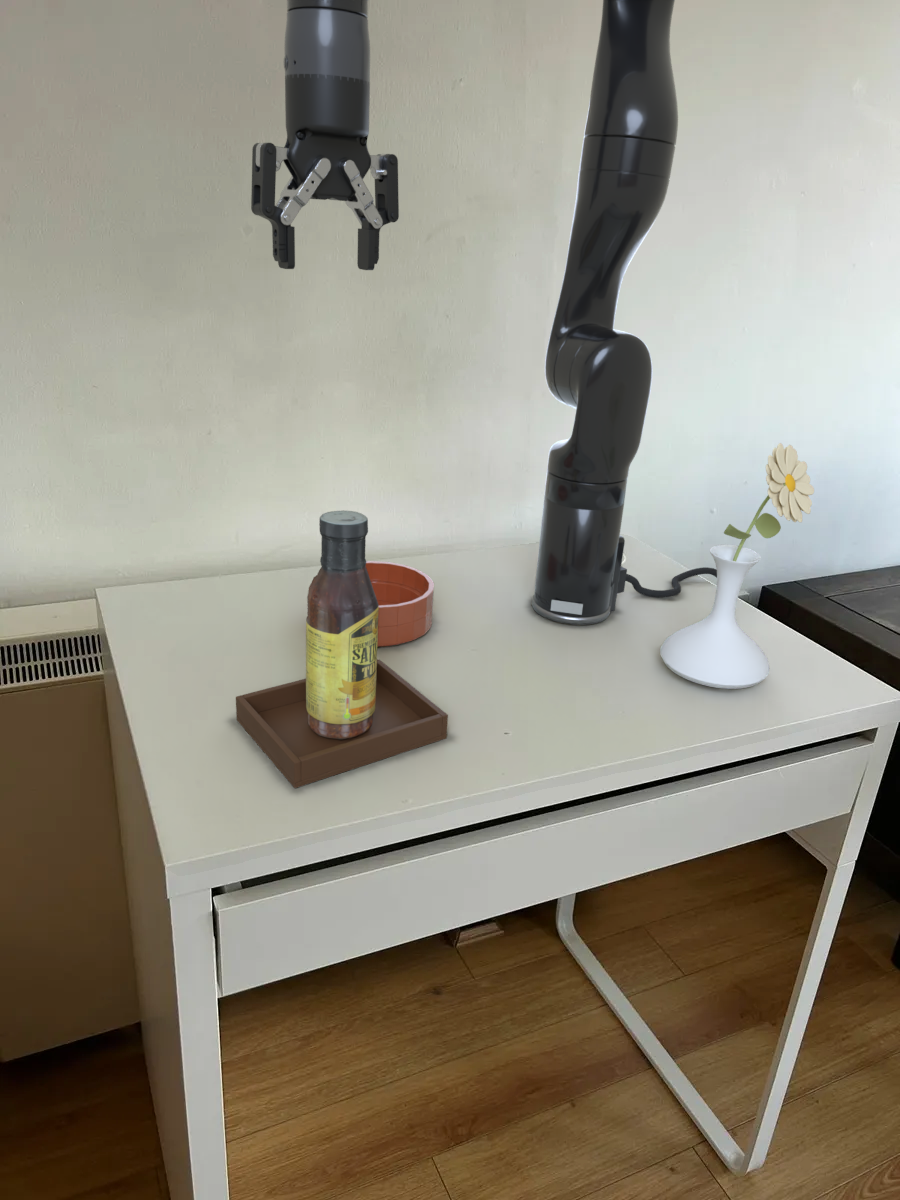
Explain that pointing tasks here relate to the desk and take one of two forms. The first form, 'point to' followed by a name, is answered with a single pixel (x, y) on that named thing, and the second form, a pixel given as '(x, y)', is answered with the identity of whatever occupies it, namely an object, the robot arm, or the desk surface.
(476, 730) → the desk surface
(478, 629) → the desk surface
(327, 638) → the sauce bottle
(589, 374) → the robot arm
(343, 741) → the tray
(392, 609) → the bowl
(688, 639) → the flower in vase
